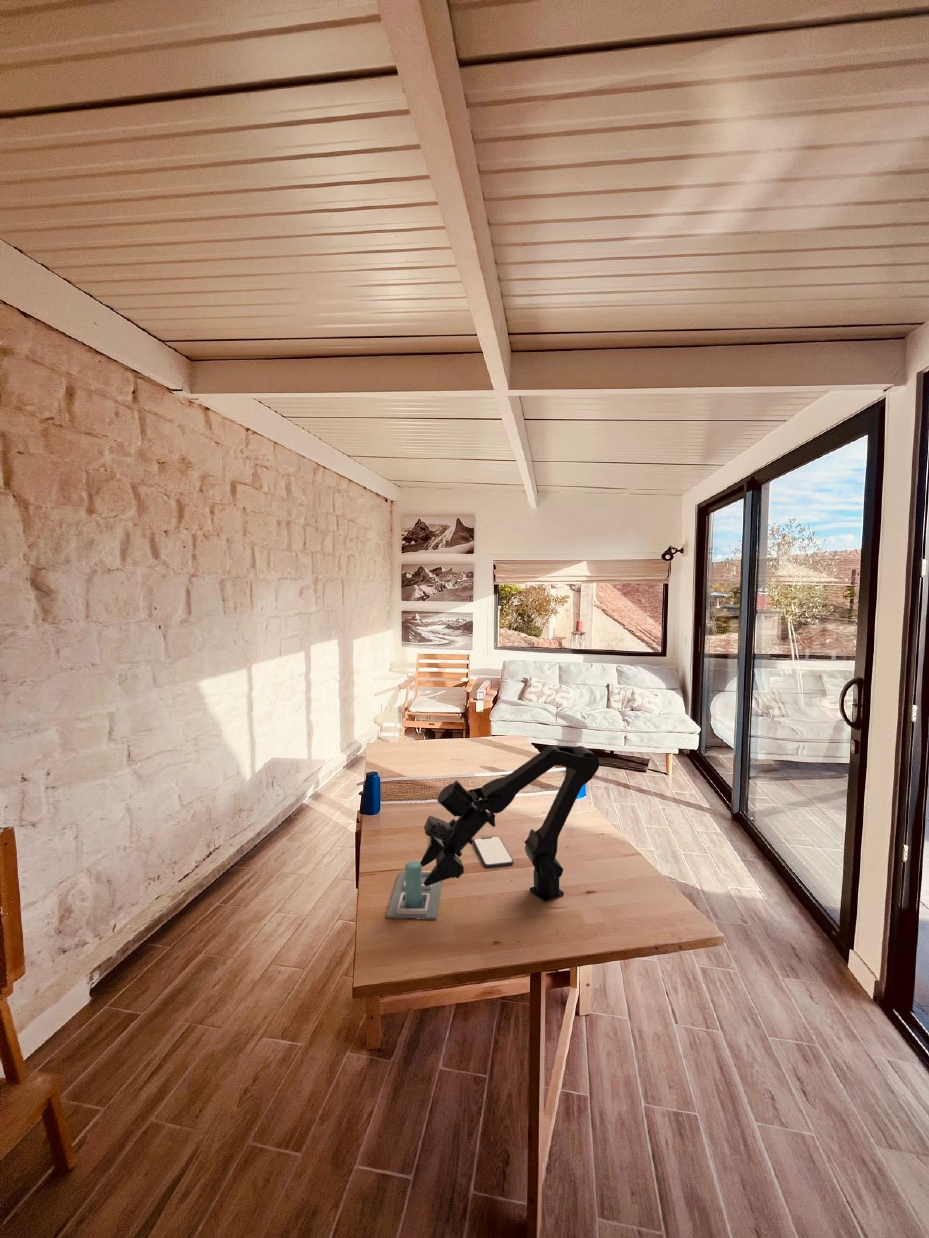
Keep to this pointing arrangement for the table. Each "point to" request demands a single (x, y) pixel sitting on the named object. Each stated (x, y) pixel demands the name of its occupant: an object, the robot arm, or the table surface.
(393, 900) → the pin board
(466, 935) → the table surface
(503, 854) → the white smartphone
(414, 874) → the pin
